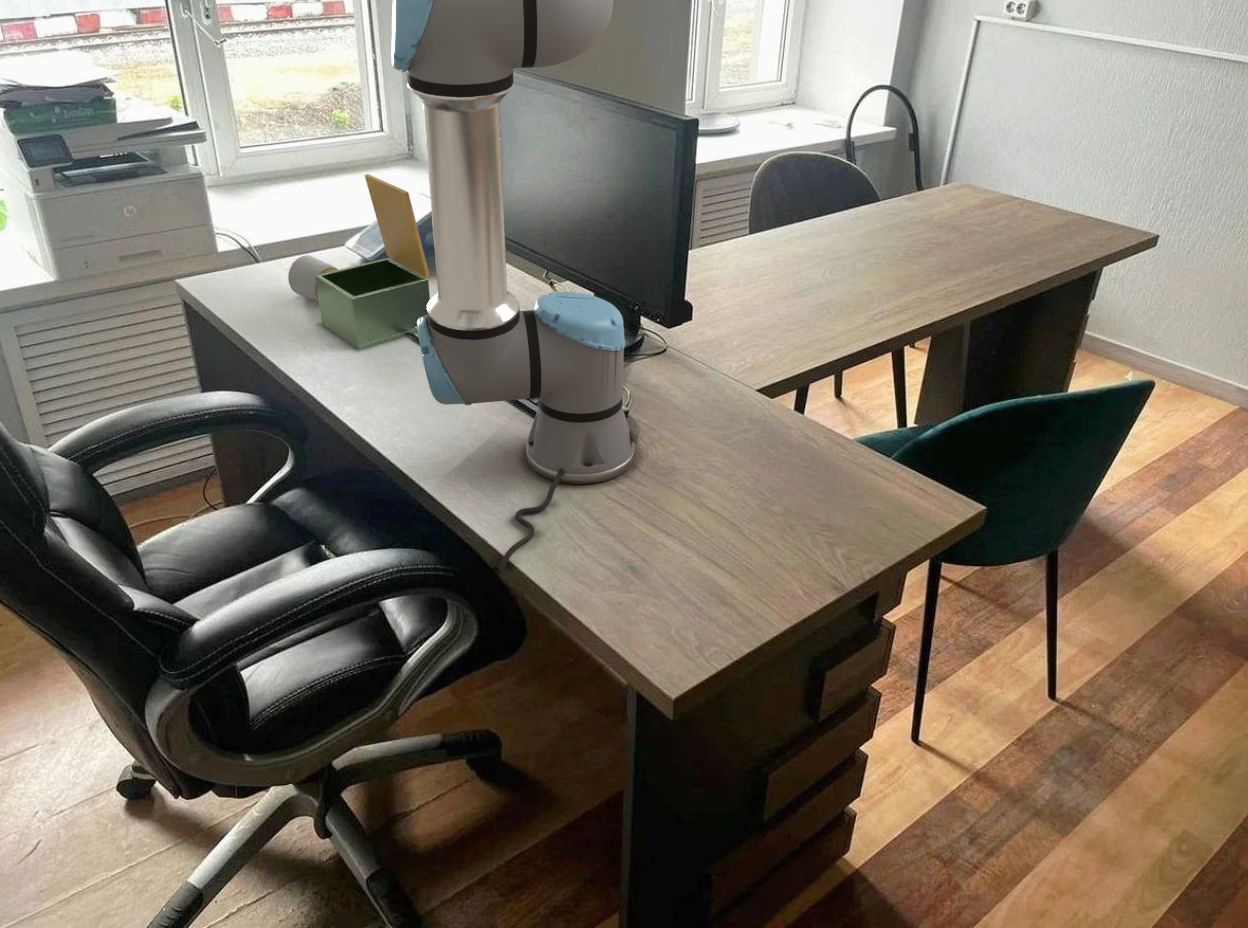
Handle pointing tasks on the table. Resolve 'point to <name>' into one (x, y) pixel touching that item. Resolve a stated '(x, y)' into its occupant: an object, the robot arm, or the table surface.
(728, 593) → the table surface
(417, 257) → the lid
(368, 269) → the tea tin
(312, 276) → the ceramic mug
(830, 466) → the table surface
